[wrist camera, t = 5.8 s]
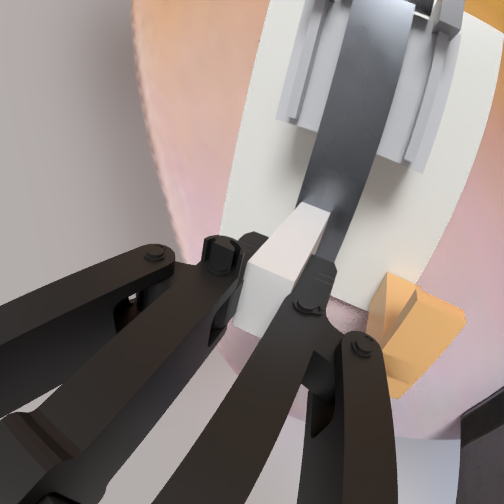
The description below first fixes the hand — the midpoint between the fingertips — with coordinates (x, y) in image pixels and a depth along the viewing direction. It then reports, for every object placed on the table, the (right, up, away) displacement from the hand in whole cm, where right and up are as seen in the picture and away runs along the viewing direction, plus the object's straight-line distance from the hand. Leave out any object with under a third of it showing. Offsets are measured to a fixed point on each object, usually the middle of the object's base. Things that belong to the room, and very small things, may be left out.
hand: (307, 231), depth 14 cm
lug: (+8, -3, +5) cm, 10 cm away
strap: (+2, +5, -2) cm, 6 cm away
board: (+4, +7, +3) cm, 9 cm away
